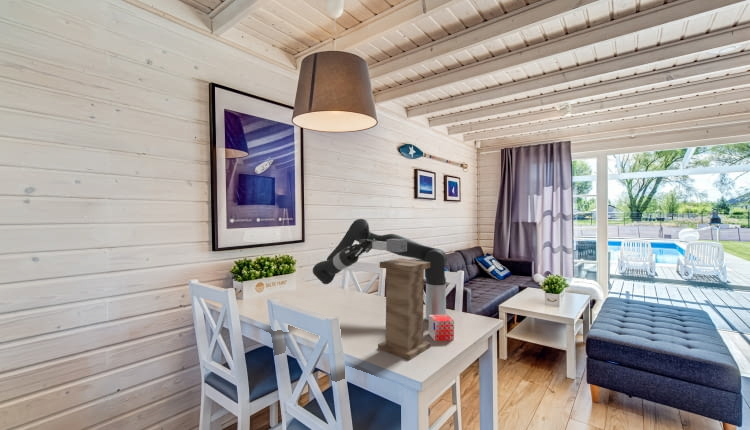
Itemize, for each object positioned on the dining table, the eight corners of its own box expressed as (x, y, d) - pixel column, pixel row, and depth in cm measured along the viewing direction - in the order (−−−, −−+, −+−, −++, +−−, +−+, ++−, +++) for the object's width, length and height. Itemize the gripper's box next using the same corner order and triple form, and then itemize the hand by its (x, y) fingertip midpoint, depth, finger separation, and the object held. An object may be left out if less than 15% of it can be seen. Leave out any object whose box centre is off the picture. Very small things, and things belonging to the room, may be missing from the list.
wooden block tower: (399, 337, 129) (400, 258, 129) (430, 347, 120) (431, 262, 120) (377, 348, 118) (378, 262, 118) (409, 359, 109) (410, 266, 109)
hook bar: (365, 246, 135) (365, 236, 135) (406, 251, 122) (407, 239, 122) (357, 247, 131) (357, 237, 131) (399, 252, 118) (399, 240, 118)
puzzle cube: (453, 340, 127) (454, 320, 127) (434, 341, 126) (435, 321, 126) (446, 332, 135) (446, 314, 135) (428, 333, 134) (428, 314, 134)
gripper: (330, 252, 135) (356, 233, 125) (353, 249, 146) (379, 232, 136) (336, 268, 133) (363, 250, 123) (359, 264, 143) (386, 248, 134)
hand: (371, 241), depth 130 cm, fingers closed on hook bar, 3 cm apart
